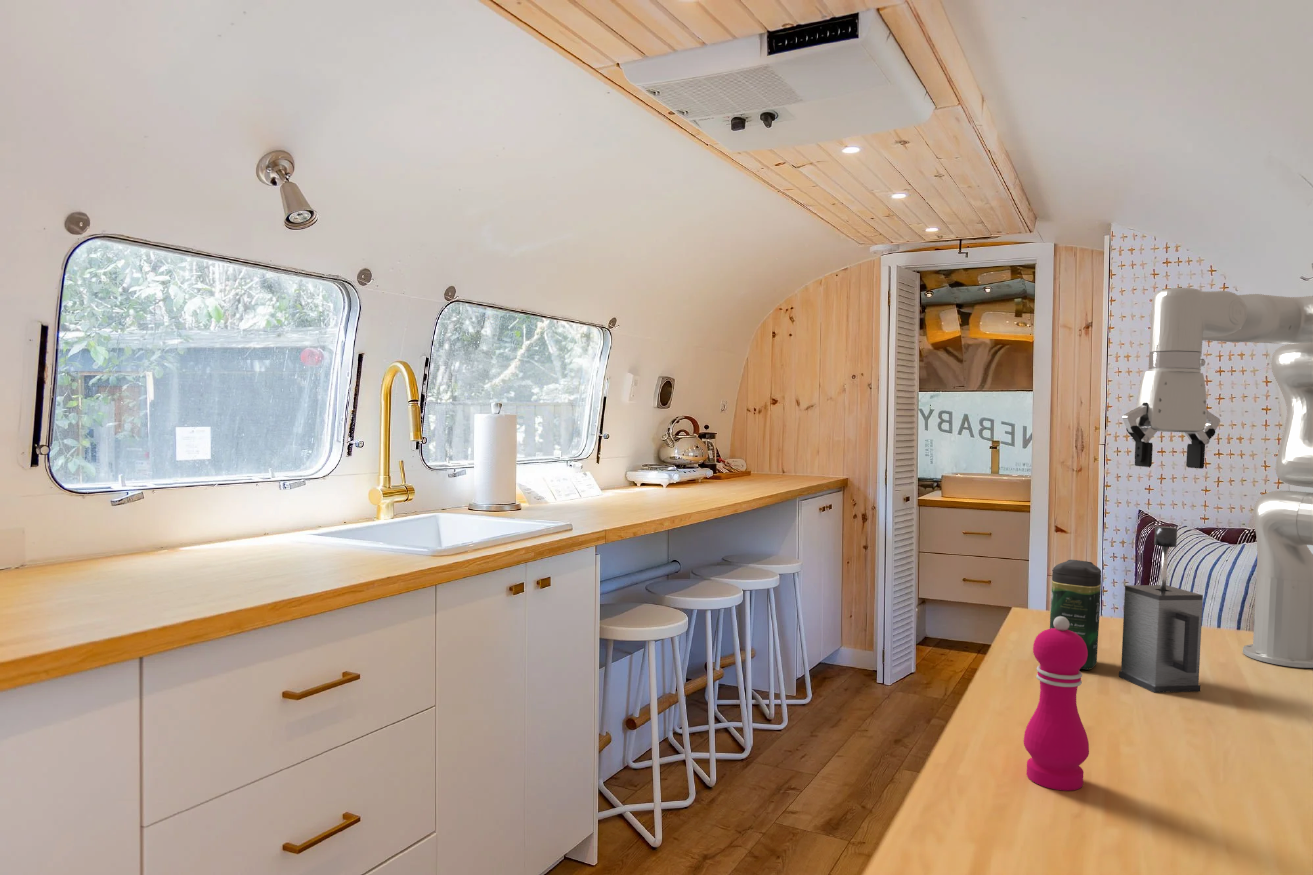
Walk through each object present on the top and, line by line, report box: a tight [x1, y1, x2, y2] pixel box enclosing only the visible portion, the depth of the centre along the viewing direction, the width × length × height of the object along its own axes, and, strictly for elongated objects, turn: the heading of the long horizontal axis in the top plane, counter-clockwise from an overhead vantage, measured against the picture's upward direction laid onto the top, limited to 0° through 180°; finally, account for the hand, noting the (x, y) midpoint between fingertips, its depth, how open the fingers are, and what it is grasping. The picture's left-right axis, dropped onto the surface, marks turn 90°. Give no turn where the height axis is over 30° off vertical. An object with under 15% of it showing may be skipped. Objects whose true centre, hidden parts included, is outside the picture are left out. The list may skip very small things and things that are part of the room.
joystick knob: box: [1153, 525, 1178, 591], centre depth 146 cm, size 6×6×14 cm
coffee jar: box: [1049, 559, 1102, 671], centre depth 157 cm, size 10×8×19 cm
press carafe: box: [1118, 584, 1204, 694], centre depth 145 cm, size 8×11×16 cm
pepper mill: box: [1023, 616, 1090, 792], centre depth 106 cm, size 7×7×20 cm
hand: (1169, 467), depth 146 cm, fingers open, 9 cm apart
